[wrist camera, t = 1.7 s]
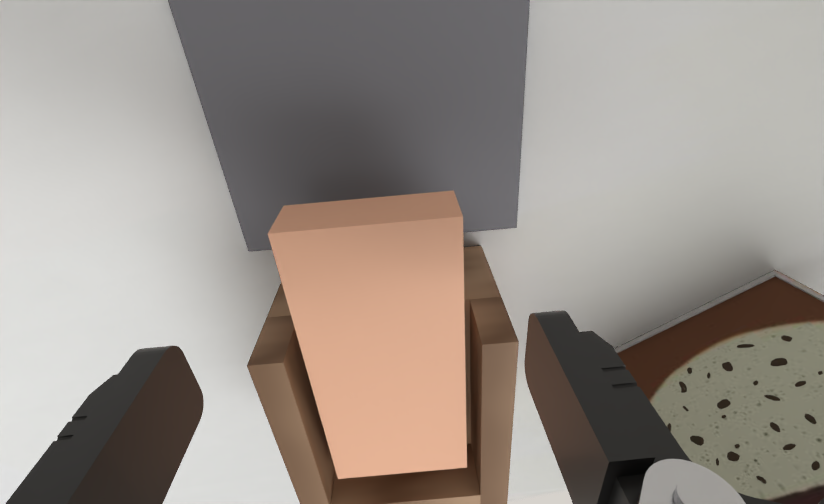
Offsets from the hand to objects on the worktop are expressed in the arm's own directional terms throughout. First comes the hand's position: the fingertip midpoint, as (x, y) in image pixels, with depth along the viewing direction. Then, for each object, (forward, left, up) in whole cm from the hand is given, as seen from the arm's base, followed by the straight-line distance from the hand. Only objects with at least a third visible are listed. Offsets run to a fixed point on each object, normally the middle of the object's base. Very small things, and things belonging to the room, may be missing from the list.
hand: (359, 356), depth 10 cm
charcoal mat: (0, -5, -9) cm, 11 cm away
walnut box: (0, +8, -9) cm, 12 cm away
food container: (-17, +11, -10) cm, 22 cm away
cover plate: (0, +4, -5) cm, 7 cm away
